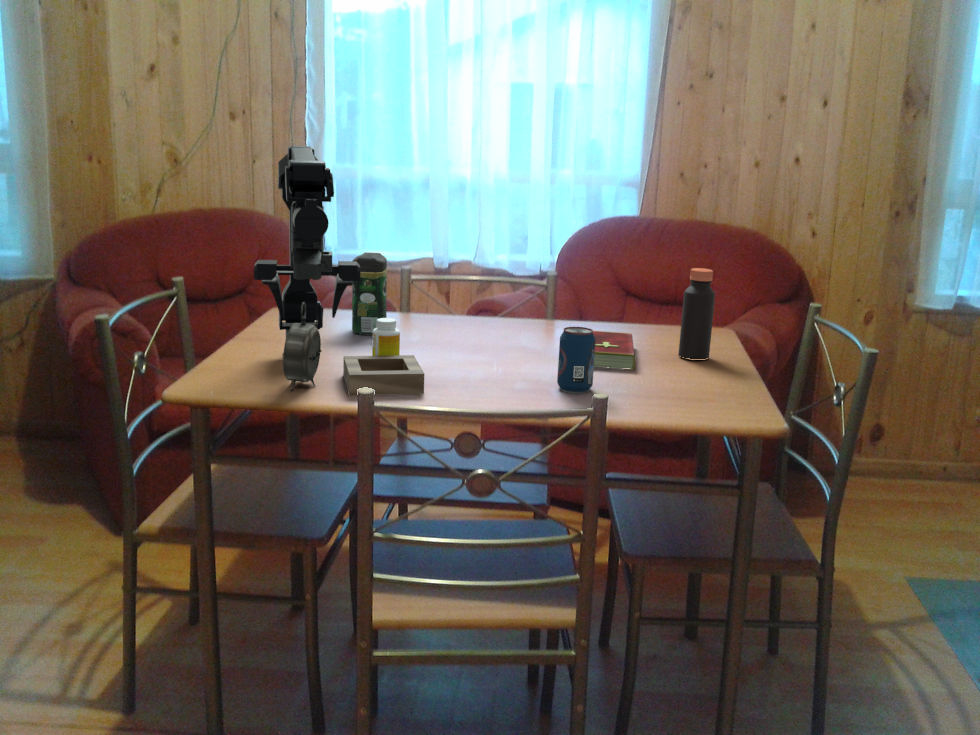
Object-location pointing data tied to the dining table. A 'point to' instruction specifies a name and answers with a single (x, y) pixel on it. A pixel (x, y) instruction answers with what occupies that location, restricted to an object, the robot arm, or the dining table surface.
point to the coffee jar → (369, 293)
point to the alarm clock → (301, 351)
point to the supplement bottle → (386, 338)
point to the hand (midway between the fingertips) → (307, 317)
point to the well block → (384, 374)
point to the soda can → (576, 360)
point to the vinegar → (697, 315)
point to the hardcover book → (614, 350)
